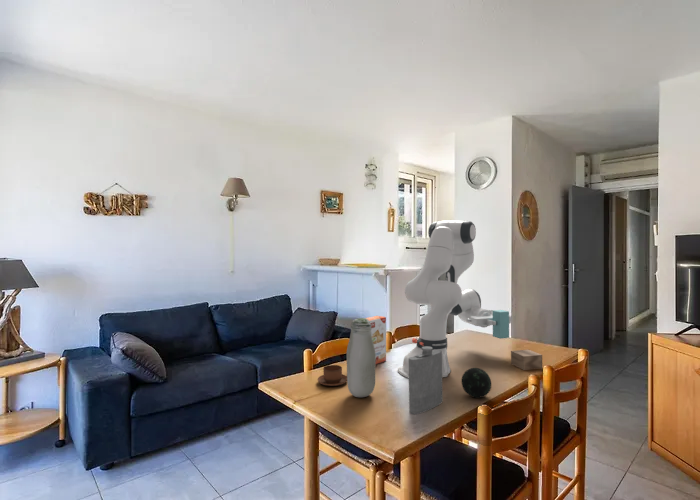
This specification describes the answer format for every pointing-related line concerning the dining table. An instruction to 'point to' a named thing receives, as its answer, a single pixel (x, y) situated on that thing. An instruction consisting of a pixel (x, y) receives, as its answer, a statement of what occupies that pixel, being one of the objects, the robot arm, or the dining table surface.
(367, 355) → the glass bottle
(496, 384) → the dining table surface
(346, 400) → the dining table surface
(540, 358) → the walnut base
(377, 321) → the cracker box
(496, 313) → the teal block
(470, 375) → the decorative stone
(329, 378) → the cup and saucer
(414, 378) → the hip flask
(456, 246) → the robot arm
